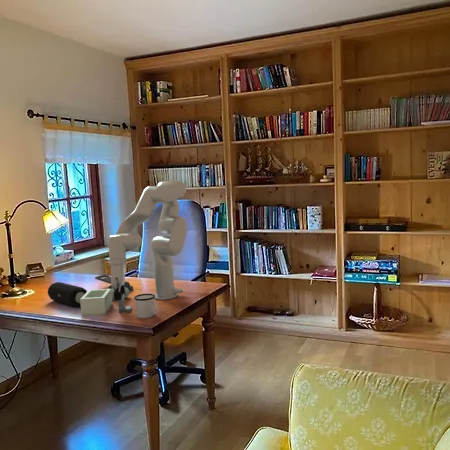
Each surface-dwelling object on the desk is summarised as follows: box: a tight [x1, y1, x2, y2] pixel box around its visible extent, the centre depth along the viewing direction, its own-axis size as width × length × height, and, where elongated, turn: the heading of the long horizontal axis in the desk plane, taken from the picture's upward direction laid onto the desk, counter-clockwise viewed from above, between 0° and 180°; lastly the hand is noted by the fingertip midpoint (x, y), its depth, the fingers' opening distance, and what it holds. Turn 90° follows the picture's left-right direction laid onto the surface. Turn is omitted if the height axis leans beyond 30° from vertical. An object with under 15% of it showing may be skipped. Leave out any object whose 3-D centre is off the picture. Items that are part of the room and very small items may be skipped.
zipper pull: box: [94, 274, 134, 293], centre depth 266 cm, size 9×7×25 cm
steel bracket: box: [117, 293, 132, 314], centre depth 224 cm, size 5×5×8 cm
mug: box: [133, 293, 159, 319], centre depth 214 cm, size 12×10×9 cm
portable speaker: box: [47, 281, 88, 308], centre depth 241 cm, size 26×10×10 cm, turn 49°
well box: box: [80, 288, 113, 317], centre depth 227 cm, size 11×16×8 cm
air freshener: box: [111, 286, 131, 301], centre depth 245 cm, size 11×8×10 cm
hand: (119, 297), depth 223 cm, fingers open, 9 cm apart
